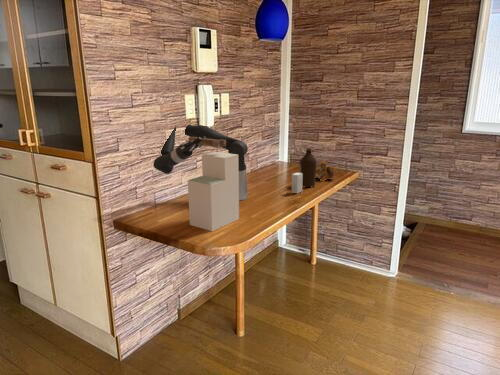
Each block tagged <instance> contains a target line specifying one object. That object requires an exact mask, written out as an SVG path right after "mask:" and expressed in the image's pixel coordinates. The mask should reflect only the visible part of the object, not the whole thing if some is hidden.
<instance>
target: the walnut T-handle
mask: <svg viewBox="0 0 500 375" xmlns="http://www.w3.org/2000/svg"><path fill="white" fill-rule="evenodd" d="M197 138H198V137H189V136H188V142H189V141H193V140H195V139H197ZM200 139H201V142H199V143H198V144H196V145H202V146H204V147H205V146H206V147H212V148H214V149H216V148H217V149H219V148H221V147H225V146H226V140H222V139H221V140H217V139H207V138H200Z"/></svg>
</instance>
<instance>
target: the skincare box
mask: <svg viewBox="0 0 500 375" xmlns="http://www.w3.org/2000/svg"><path fill="white" fill-rule="evenodd" d="M302 181H303V173H300V172H294V173H292V174H291V193H292V192H293V193H299V192H301V191H302V192H303V187H302ZM302 192H301V193H302ZM293 193H292V194H293ZM299 194H300V193H299Z"/></svg>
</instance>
